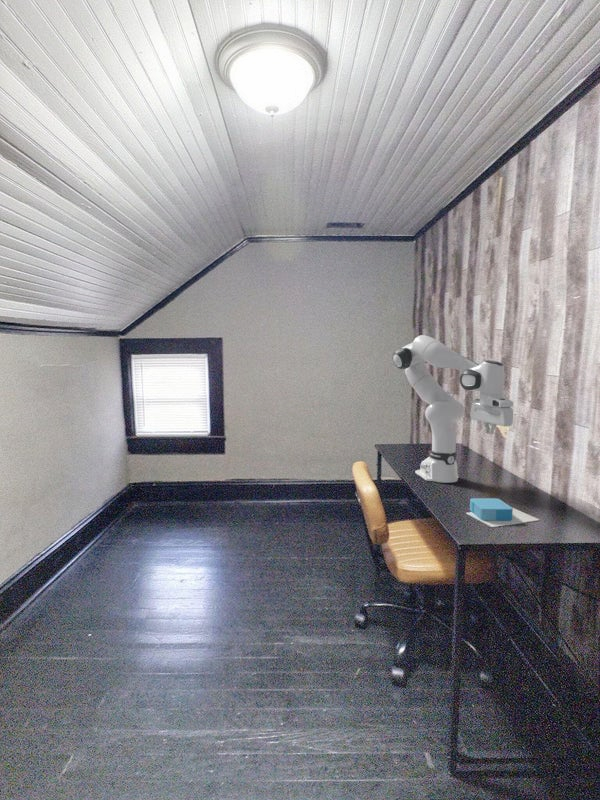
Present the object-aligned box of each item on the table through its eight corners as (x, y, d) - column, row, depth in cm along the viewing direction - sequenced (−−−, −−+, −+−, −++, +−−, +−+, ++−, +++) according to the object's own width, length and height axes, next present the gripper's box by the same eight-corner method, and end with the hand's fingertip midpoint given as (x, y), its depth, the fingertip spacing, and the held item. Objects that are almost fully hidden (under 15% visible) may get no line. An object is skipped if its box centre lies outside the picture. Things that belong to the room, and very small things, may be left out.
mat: (465, 513, 165) (465, 512, 165) (510, 507, 172) (510, 506, 172) (492, 527, 152) (492, 526, 152) (539, 520, 159) (539, 519, 159)
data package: (468, 509, 169) (481, 520, 157) (468, 498, 169) (482, 509, 157) (497, 509, 170) (513, 520, 158) (498, 498, 169) (514, 509, 157)
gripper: (467, 398, 183) (465, 429, 184) (504, 403, 163) (501, 438, 165) (479, 397, 185) (477, 429, 186) (516, 403, 165) (514, 437, 167)
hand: (489, 433), depth 175 cm, fingers closed
